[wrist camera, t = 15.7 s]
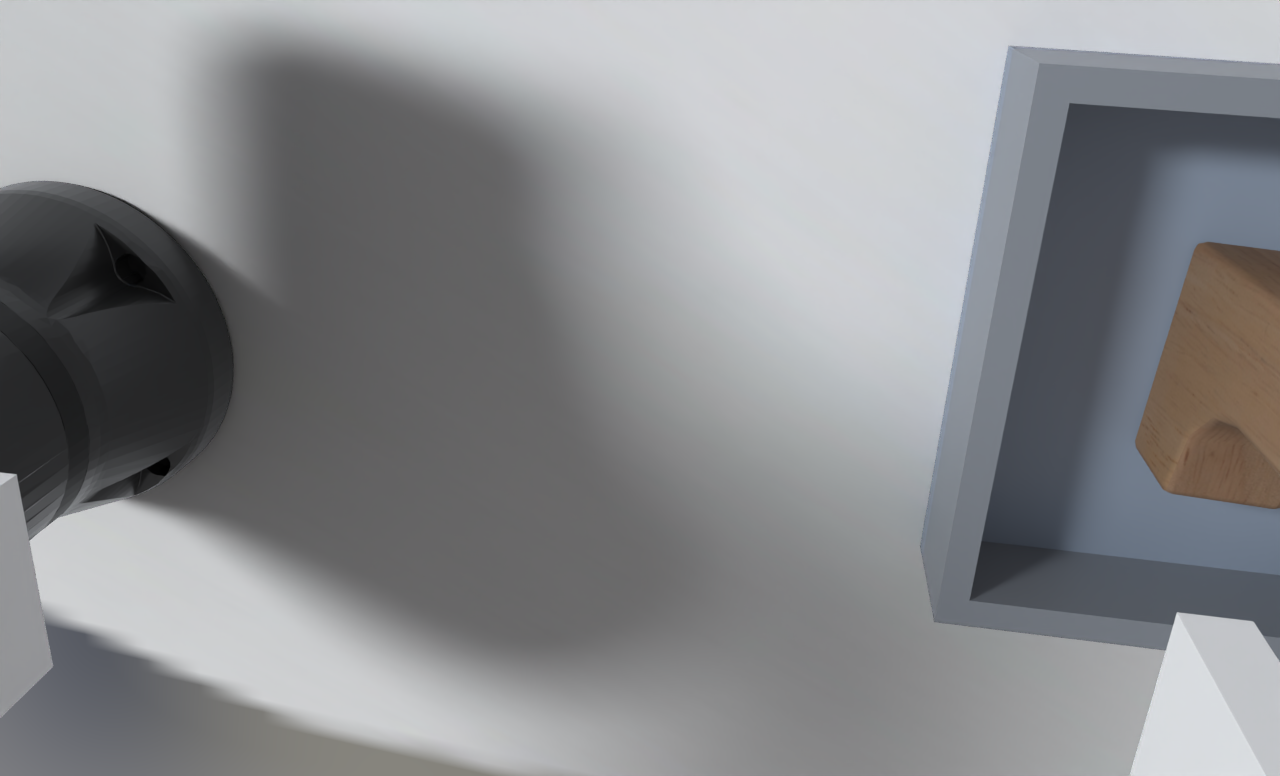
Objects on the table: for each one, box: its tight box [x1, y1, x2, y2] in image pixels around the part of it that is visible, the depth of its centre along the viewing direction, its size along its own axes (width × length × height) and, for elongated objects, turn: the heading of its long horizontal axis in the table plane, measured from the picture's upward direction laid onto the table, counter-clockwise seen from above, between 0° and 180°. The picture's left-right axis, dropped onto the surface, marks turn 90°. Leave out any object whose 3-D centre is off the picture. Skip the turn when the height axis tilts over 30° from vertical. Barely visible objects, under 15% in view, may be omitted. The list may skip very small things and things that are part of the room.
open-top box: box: [920, 46, 1280, 662], centre depth 42 cm, size 20×22×6 cm
